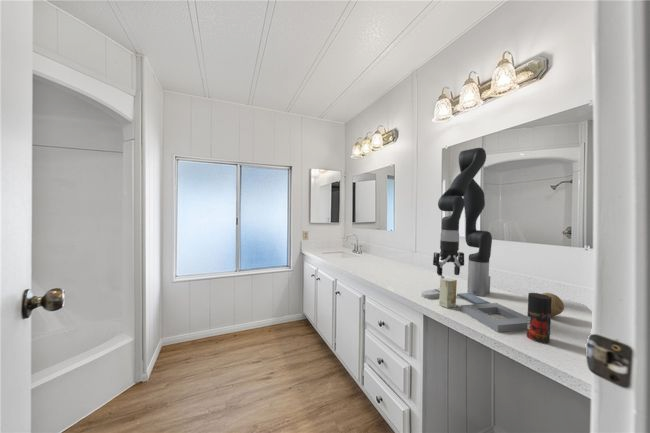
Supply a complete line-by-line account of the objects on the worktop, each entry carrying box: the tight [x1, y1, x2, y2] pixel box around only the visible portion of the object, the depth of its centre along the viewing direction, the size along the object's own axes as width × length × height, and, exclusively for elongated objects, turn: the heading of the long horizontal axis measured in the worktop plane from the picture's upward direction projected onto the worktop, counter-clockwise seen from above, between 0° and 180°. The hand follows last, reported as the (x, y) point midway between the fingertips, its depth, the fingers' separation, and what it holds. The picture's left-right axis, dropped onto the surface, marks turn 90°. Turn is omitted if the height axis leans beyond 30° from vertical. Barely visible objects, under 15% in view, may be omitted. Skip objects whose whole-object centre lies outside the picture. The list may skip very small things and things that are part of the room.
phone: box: [456, 292, 491, 304], centre depth 117 cm, size 7×13×1 cm, turn 10°
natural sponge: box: [542, 292, 565, 318], centre depth 99 cm, size 9×9×10 cm
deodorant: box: [526, 292, 552, 345], centre depth 83 cm, size 6×6×15 cm
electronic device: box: [420, 275, 445, 300], centre depth 122 cm, size 5×10×15 cm
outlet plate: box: [460, 302, 527, 333], centre depth 97 cm, size 18×18×2 cm
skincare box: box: [438, 277, 458, 309], centre depth 110 cm, size 6×4×12 cm
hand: (448, 275), depth 110 cm, fingers open, 8 cm apart
